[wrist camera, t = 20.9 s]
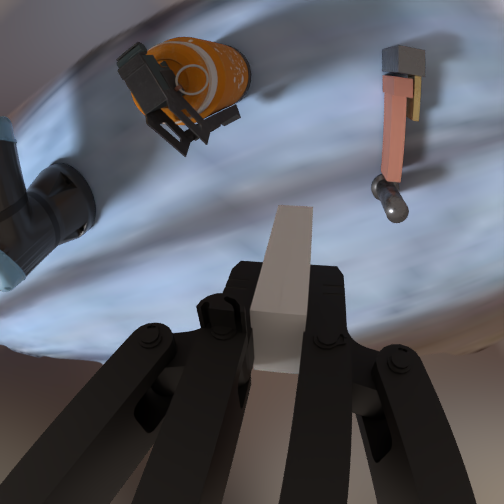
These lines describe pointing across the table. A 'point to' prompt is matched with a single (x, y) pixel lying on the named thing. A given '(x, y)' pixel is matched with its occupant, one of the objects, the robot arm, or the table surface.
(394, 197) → the post
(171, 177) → the table surface
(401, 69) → the grey hammer
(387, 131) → the pink l-shaped bracket
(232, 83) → the canister
